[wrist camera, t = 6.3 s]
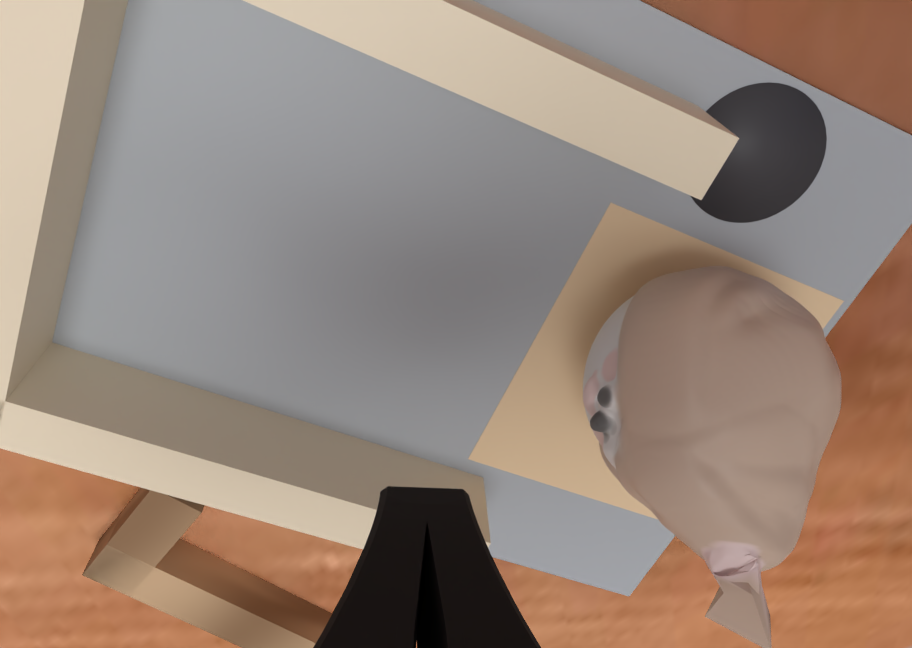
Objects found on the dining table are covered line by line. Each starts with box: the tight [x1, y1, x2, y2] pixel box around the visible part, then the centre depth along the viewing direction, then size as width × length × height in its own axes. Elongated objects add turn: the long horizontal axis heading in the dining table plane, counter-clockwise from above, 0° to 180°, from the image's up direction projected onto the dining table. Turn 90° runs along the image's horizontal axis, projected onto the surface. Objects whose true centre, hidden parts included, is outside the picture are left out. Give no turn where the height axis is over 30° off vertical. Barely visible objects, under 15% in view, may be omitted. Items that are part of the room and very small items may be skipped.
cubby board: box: [0, 0, 912, 596], centre depth 20 cm, size 22×17×3 cm
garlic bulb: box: [583, 266, 841, 648], centre depth 19 cm, size 7×6×8 cm
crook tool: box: [82, 488, 332, 648], centre depth 26 cm, size 12×4×2 cm, turn 51°
